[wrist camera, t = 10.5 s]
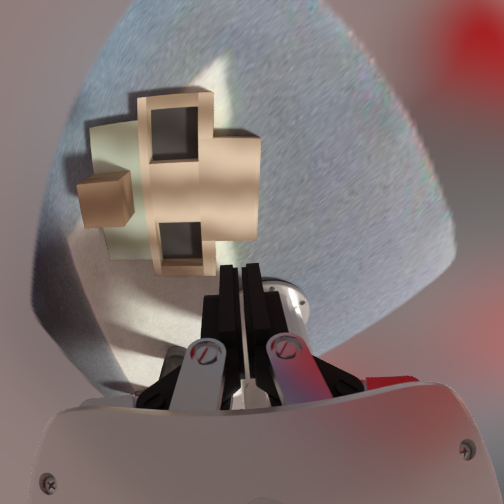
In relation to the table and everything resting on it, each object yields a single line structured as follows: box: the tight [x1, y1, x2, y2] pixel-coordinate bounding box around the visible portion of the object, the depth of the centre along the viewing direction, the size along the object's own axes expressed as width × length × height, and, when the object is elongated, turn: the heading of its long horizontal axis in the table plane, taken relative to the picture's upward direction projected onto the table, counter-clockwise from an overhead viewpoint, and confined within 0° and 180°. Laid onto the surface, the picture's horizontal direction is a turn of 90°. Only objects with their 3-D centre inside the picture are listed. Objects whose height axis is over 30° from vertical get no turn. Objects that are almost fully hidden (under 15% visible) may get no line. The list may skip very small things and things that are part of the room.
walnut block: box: [77, 171, 135, 228], centre depth 27 cm, size 5×5×4 cm
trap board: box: [89, 92, 261, 276], centre depth 30 cm, size 22×19×2 cm
